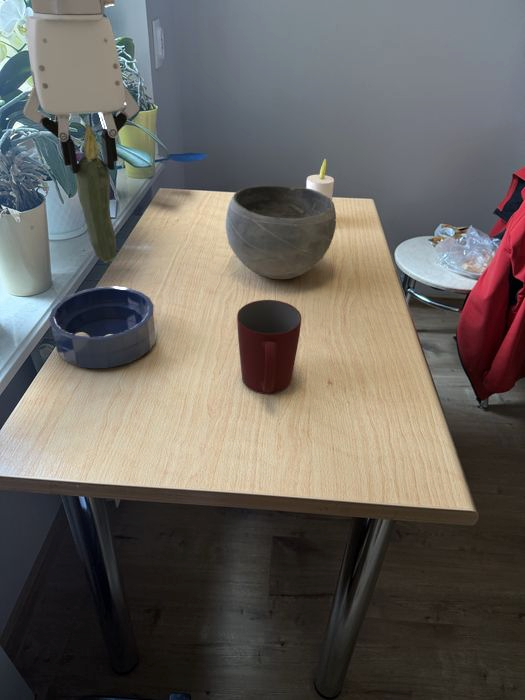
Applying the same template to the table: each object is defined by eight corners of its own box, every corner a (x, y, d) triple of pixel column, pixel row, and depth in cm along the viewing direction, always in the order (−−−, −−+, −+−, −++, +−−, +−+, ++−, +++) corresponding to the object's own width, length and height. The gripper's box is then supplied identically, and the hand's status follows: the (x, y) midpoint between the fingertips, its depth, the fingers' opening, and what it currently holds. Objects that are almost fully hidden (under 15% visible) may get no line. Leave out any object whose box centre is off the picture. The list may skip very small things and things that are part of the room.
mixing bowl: (65, 382, 77) (57, 349, 74) (50, 328, 89) (43, 297, 85) (168, 357, 83) (165, 325, 80) (142, 309, 94) (138, 279, 91)
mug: (299, 413, 74) (305, 348, 67) (236, 412, 73) (235, 347, 67) (294, 360, 83) (299, 300, 77) (237, 360, 83) (237, 299, 76)
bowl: (342, 293, 101) (352, 218, 92) (232, 299, 98) (231, 222, 89) (316, 246, 118) (322, 178, 109) (221, 250, 115) (220, 181, 106)
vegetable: (115, 273, 78) (100, 134, 65) (85, 271, 78) (64, 132, 65) (121, 257, 81) (107, 123, 68) (92, 255, 81) (73, 120, 68)
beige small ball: (93, 336, 81) (96, 340, 84) (75, 327, 81) (80, 330, 84) (82, 353, 80) (86, 356, 83) (65, 343, 80) (69, 346, 83)
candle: (298, 219, 130) (302, 157, 121) (320, 215, 132) (326, 153, 124) (311, 229, 125) (317, 164, 117) (334, 224, 128) (341, 161, 119)
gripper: (132, 2, 65) (146, 155, 76) (-17, 0, 59) (21, 167, 69) (149, 6, 60) (162, 170, 70) (-13, 3, 53) (27, 184, 64)
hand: (91, 167), depth 70 cm, fingers closed on vegetable, 4 cm apart
